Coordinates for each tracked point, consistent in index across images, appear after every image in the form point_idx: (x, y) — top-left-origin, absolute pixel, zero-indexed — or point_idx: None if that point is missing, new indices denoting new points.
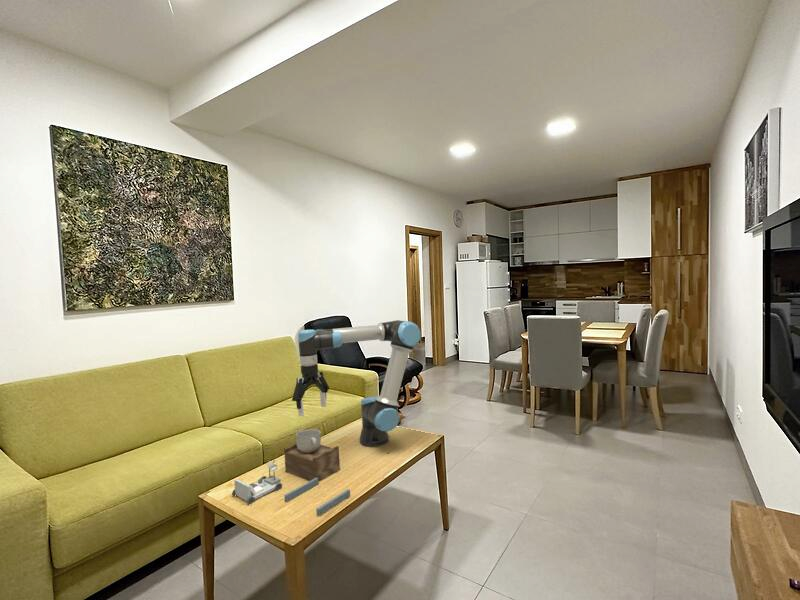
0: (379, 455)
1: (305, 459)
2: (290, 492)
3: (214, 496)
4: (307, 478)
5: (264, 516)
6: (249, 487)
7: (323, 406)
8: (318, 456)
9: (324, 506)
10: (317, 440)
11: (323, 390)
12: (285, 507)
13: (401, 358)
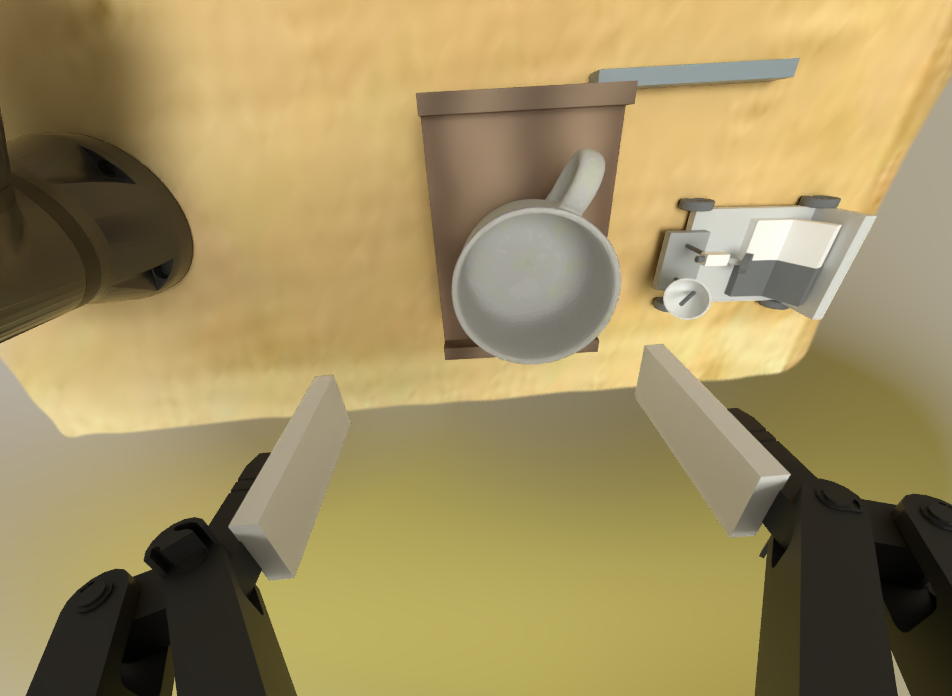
0: (167, 35)
1: (614, 179)
2: (767, 68)
3: (788, 345)
4: None
5: (903, 42)
6: (866, 214)
7: (340, 397)
8: (603, 82)
9: None
10: (525, 203)
11: (234, 582)
12: (819, 21)
13: None
